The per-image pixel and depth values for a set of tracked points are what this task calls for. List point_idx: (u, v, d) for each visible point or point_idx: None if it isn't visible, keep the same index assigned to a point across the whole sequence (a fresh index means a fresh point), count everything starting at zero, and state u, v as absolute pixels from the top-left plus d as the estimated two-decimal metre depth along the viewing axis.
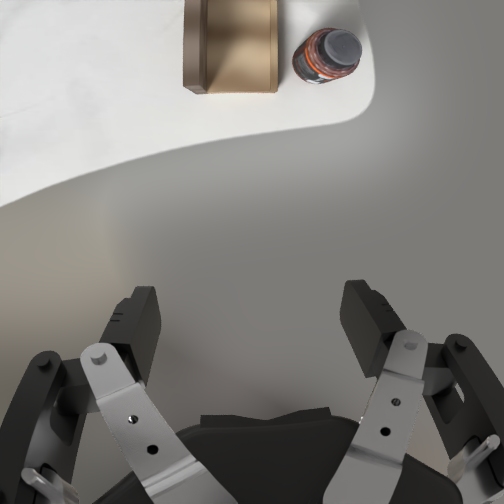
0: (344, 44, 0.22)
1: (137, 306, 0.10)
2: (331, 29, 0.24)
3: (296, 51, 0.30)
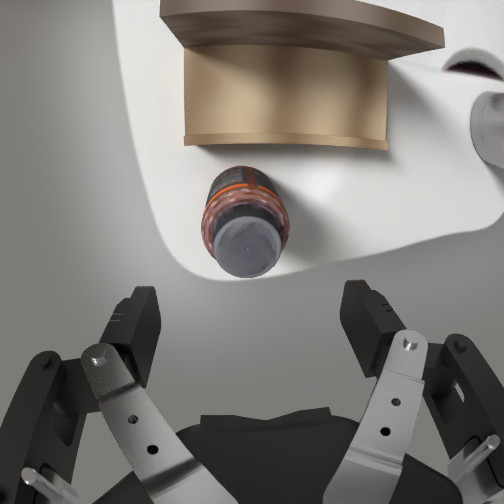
0: (253, 250, 0.17)
1: (137, 306, 0.10)
2: (285, 226, 0.19)
3: (254, 171, 0.24)
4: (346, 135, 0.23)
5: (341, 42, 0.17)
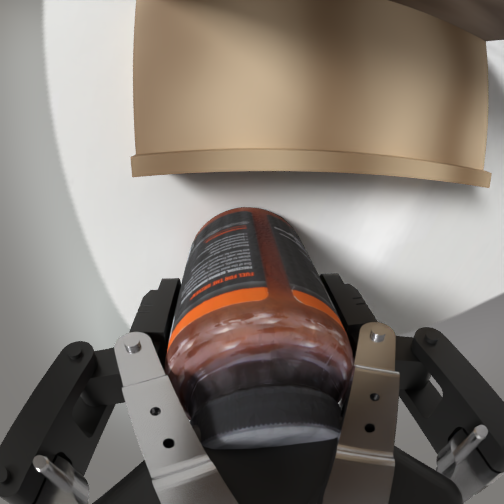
0: None
1: (166, 297, 0.11)
2: (347, 378, 0.08)
3: (272, 223, 0.13)
4: (434, 159, 0.12)
5: None
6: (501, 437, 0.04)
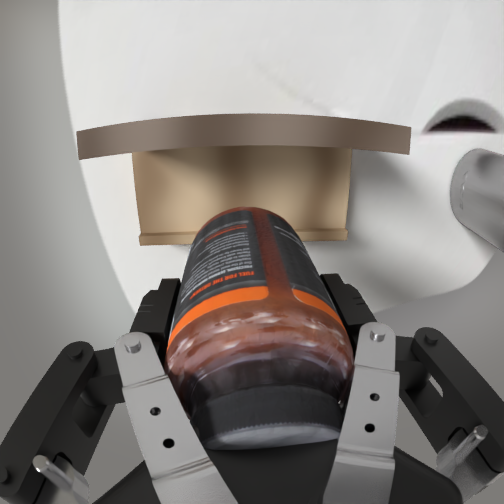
0: None
1: (166, 297, 0.11)
2: (348, 378, 0.08)
3: (272, 222, 0.13)
4: (301, 227, 0.24)
5: None
6: (501, 437, 0.04)
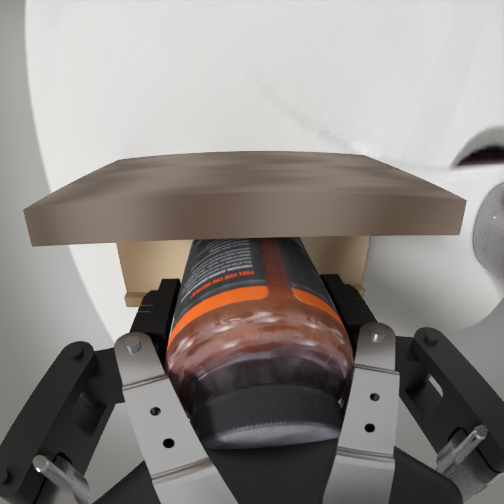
0: None
1: (166, 297, 0.11)
2: (348, 377, 0.08)
3: None
4: None
5: None
6: (501, 437, 0.04)
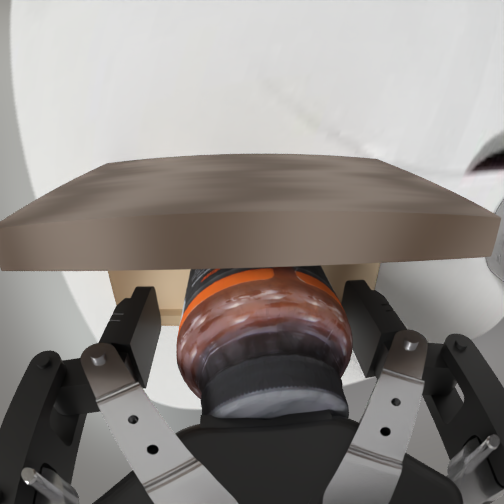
0: None
1: (137, 306, 0.10)
2: (347, 355, 0.09)
3: None
4: None
5: None
6: None
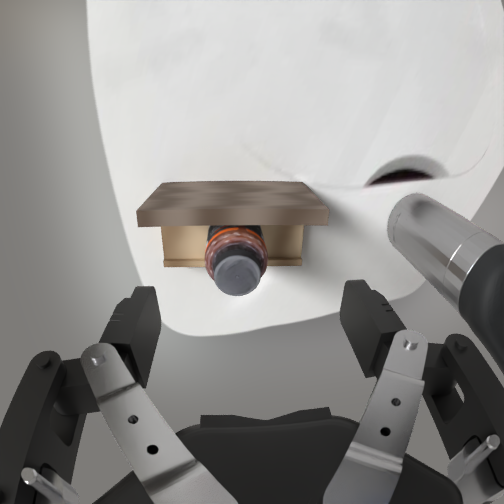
0: (240, 277, 0.25)
1: (137, 306, 0.10)
2: (264, 259, 0.27)
3: None
4: (270, 257, 0.37)
5: None
6: None
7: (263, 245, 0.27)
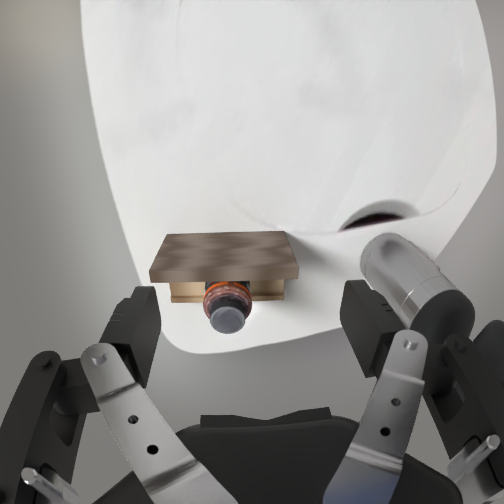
0: (230, 321, 0.33)
1: (137, 306, 0.10)
2: (249, 305, 0.35)
3: None
4: (258, 293, 0.45)
5: None
6: None
7: (247, 294, 0.35)
